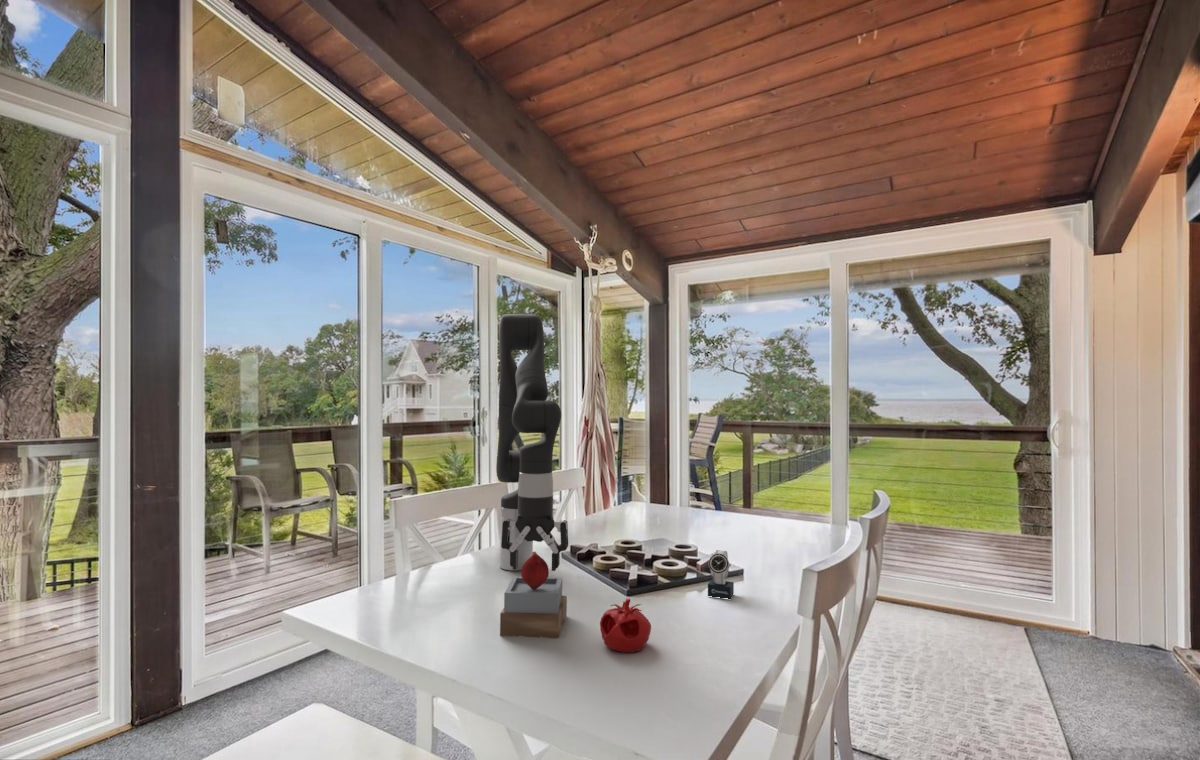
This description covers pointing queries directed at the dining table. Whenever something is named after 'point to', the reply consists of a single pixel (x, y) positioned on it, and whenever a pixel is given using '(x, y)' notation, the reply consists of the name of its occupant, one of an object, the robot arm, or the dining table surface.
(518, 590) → the top block
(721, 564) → the watch
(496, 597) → the dining table surface
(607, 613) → the pomegranate
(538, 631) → the bottom block
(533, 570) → the onion
